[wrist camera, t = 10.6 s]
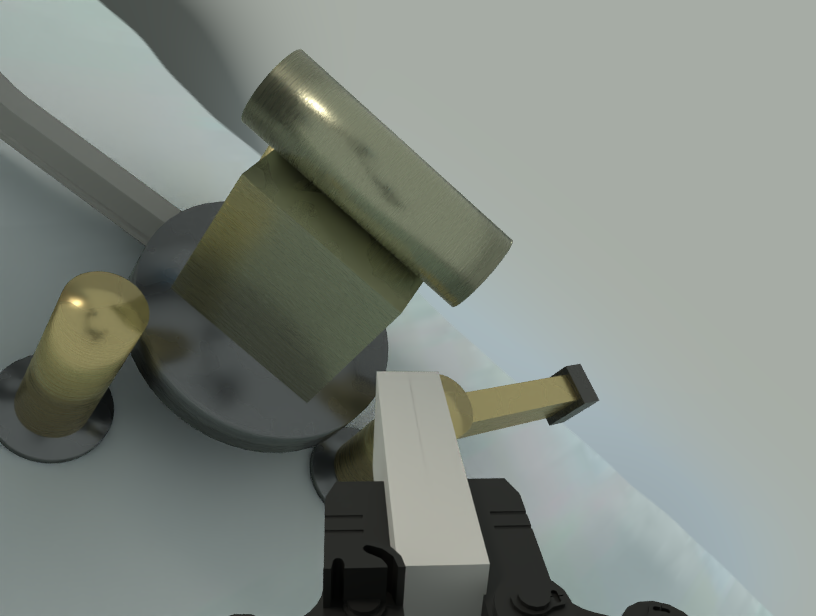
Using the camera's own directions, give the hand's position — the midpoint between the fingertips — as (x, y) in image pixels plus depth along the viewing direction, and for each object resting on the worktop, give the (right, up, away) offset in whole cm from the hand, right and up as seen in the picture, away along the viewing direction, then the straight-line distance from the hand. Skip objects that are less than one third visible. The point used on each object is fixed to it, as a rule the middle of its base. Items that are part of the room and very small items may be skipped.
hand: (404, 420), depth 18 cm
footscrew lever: (+2, -6, +26) cm, 26 cm away
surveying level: (-8, -2, +22) cm, 23 cm away
